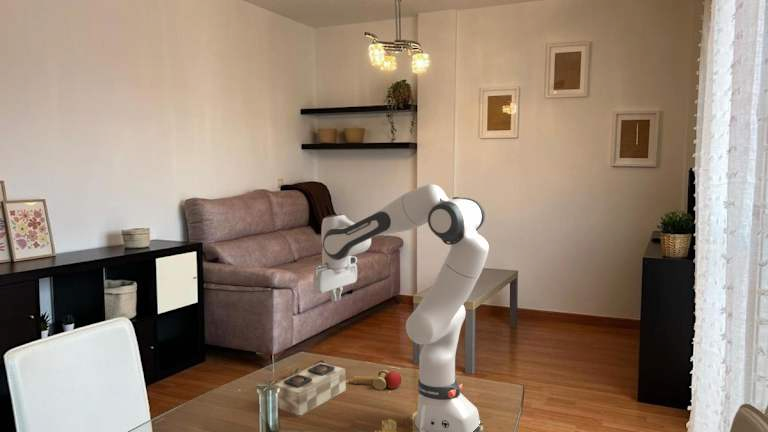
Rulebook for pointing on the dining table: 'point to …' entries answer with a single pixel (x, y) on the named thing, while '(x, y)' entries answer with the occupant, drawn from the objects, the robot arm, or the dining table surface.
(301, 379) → the peg left
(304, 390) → the collar block
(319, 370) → the peg right
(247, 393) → the dining table surface
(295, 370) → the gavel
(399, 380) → the kendama
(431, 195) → the robot arm
